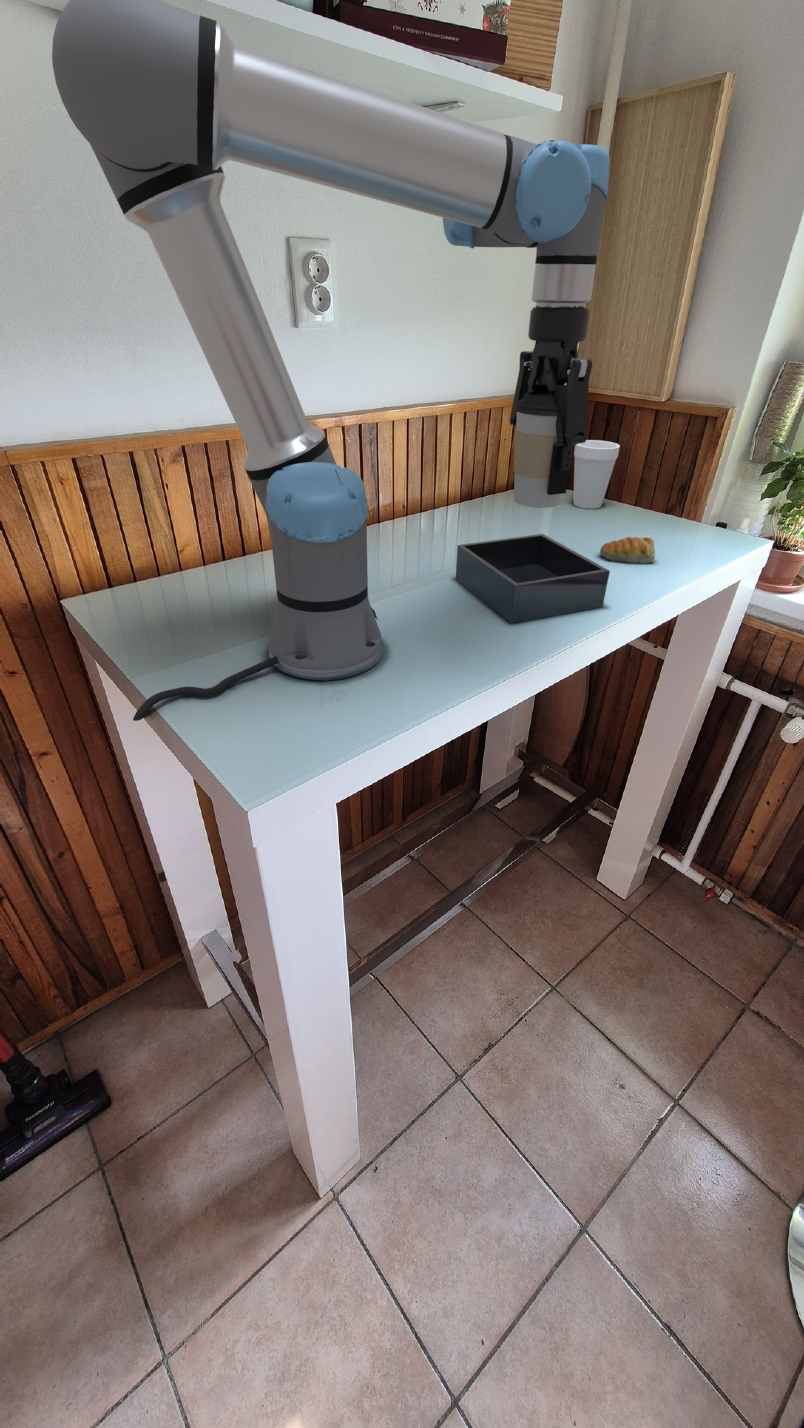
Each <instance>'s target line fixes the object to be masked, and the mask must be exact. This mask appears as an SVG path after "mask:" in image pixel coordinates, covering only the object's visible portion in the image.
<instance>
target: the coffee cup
mask: <svg viewBox="0 0 804 1428" xmlns="http://www.w3.org/2000/svg"><path fill="white" fill-rule="evenodd" d="M515 410H516V411H517V419H516V428H515V429H514V452H513V453H514V454H513V456H514V457H513V474H514V473H515V479H513V481H514V483H513V502H514V503H515V504H517V505H520V506H523V507H527V508H534V509H535V508H537V509H547V508H555V507H557V506H559V505H560V504H561V501H562V497H563V494H555V495H549V494H547V489H548V481H549V473H550V466H551V458H552V450H553V443H555V442H557V433H556V420H557V416H558V413H557V410H558V408H557V407H556V404H555V398H554V397H552V395H551V394H550V393H549V390H548V391H547V394H532V392H526V393H525V395H524V397H523V399H522V400H519V401H517V407H516V409H515ZM565 436H566V434H565Z"/></svg>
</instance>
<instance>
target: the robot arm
mask: <svg viewBox="0 0 804 1428" xmlns="http://www.w3.org/2000/svg"><path fill="white" fill-rule="evenodd" d="M51 62H52V70H53V75H54V80H55V84H56V88H57V91H58V94H59V96H60V99H61V102H62V104H63V106H64V108H65V110H66V112H67V114H68V116H69V118H70V119H71V122H72V124H73V125H74V127H75V128H76V129H77V130H78V131H79V133H80V134H81V135H82V136H83V138H84V139H85V140H86V142H88V144H89V145H90V147H91V148H92V151H93V153H94V155H95V158H96V159H97V162H98V164H99V166H100V168H101V170H102V173H103V174H104V177H105V178H106V180H107V183H108V184H109V187H110V189H111V192H112V193H113V195H114V197H115V199H116V201H117V203H118V205H119V208H120V210H121V212H122V215H123V216H124V218H125V220H126V221H128V222H130V223H131V224H133V225H135V226H137V227H138V228H141V229H142V230H144V232H146V233H147V234H148V236H149V239H150V241H151V244H152V245H153V247H154V249H155V252H156V254H157V255H158V258H159V260H160V263H161V265H162V266H163V269H164V271H165V273H166V275H167V277H168V279H169V281H170V283H171V286H172V288H173V290H174V292H175V295H176V297H177V300H179V303H180V306H181V308H182V310H183V312H184V315H185V317H186V319H187V320H188V323H189V325H190V327H191V329H192V331H193V333H194V336H195V337H196V341H197V342H198V345H199V346H200V348H201V351H202V353H203V355H204V357H205V360H206V362H207V364H208V366H209V368H210V370H211V372H212V375H213V377H214V379H215V381H216V383H217V385H218V387H219V390H220V392H221V394H222V396H223V398H224V401H225V402H226V405H227V407H228V409H229V411H230V414H231V416H232V417H233V421H234V422H235V425H236V426H237V429H238V430H239V433H240V435H241V437H242V439H243V441H244V444H245V445H246V449H247V450H246V454H245V458H244V461H243V463H242V465H243V468H244V471H245V473H246V475H247V477H248V479H249V482H250V483H251V486H252V488H253V490H254V492H255V495H256V496H257V498H258V501H259V503H260V505H261V507H262V509H263V511H264V513H265V516H266V520H267V526H268V531H269V535H270V542H271V551H272V561H273V569H274V580H275V589H276V598H277V599H276V600H277V604H276V607H275V612H274V616H273V621H272V624H271V629H270V633H269V637H268V647H267V649H268V655H269V656H268V657H269V658H268V659H265V660H263V661H261V662H259V663H257V664H255V665H254V664H253V665H252V666H250V667H247V668H245V669H242V670H241V671H238V672H236V673H234V674H231V675H230V676H227V677H226V678H224V679H222V680H221V681H219V682H218V683H217V684H216V685H214V686H211V687H206V688H203V687H197V686H181V687H177V688H171V689H167V690H163V691H160V692H157V693H155V694H153V695H151V696H150V697H149V698H147V699H146V700H145V701H144V702H143V703H142V704H141V706H140V707H139V708H138V709H137V710H136V712H135V714H134V716H133V718H132V720H133V722H137V721H141V720H143V719H144V718H145V716H146V715H147V713H148V712H149V711H150V710H151V709H152V708H153V707H154V706H155V705H156V704H158V703H159V702H162V701H164V700H167V699H171V698H175V697H180V696H184V695H190V696H191V695H192V696H197V697H198V696H199V697H210V696H215V695H218V694H220V693H221V692H223V691H224V690H225V689H226V688H228V687H229V686H231V685H233V684H235V683H237V682H239V681H242V680H244V679H247V678H249V677H251V676H253V675H255V674H257V673H259V672H262V671H264V670H266V669H268V668H271V667H273V666H274V667H275V668H276V669H277V670H278V671H280V672H282V673H283V674H286V675H289V676H291V677H295V678H298V679H304V680H311V681H331V680H339V679H346V678H349V677H353V676H356V675H359V674H362V673H364V672H366V671H367V670H369V669H372V668H373V667H375V666H376V665H377V664H378V662H379V661H380V659H381V658H382V655H383V639H382V638H383V637H382V633H381V630H380V628H379V624H378V622H377V621H378V617H377V614H376V611H375V609H373V608H372V606H371V603H370V600H369V589H368V585H369V581H368V578H369V577H368V575H369V574H368V527H367V526H368V523H367V517H368V512H369V511H368V510H369V504H368V498H367V494H366V487H365V484H364V481H363V479H362V478H361V476H360V475H359V474H357V473H356V472H355V471H353V470H351V469H350V468H348V467H341V466H340V465H339V464H337V462H336V459H335V457H334V454H333V452H332V449H331V447H330V444H329V441H328V438H327V437H326V434H325V431H323V429H320V428H318V427H316V426H314V425H312V424H310V423H309V422H308V419H307V417H306V414H305V412H304V409H303V407H302V405H301V401H300V398H299V396H298V394H297V392H296V389H295V387H294V384H293V381H292V379H291V377H290V374H289V371H288V369H287V367H286V363H285V361H284V359H283V356H282V354H281V352H280V349H279V347H278V344H277V341H276V339H275V336H274V334H273V331H272V329H271V327H270V324H269V322H268V319H267V315H266V314H265V310H264V309H263V306H262V303H261V300H260V298H259V297H258V293H257V291H256V288H255V286H254V284H253V281H252V279H251V278H252V277H251V276H250V274H249V273H250V272H249V270H248V268H247V265H246V264H245V261H244V258H243V256H242V253H241V250H240V248H239V246H238V243H237V241H236V237H235V235H234V233H233V231H232V228H231V225H230V223H229V220H228V218H227V215H226V213H225V211H224V208H223V205H222V202H221V197H222V194H223V193H222V192H223V188H224V184H225V180H226V175H225V173H224V169H223V167H222V166H223V165H224V164H225V163H226V162H228V161H232V162H235V163H240V164H243V165H247V166H251V167H253V168H258V169H262V170H265V171H269V172H273V173H277V174H280V175H284V176H288V177H291V178H296V179H298V180H302V181H306V182H310V183H314V184H318V185H321V186H324V187H328V188H332V189H336V190H340V191H343V192H347V193H351V194H354V195H358V196H361V197H365V198H369V199H372V200H376V201H380V202H383V203H387V204H391V205H394V206H398V207H402V208H406V209H410V210H414V211H417V212H420V213H424V214H428V215H431V216H435V217H439V218H442V226H443V233H444V235H445V239H446V240H447V242H448V243H449V244H450V245H452V246H454V247H467V248H470V249H475V248H527V249H534V248H536V253H535V262H534V264H535V265H534V272H533V273H534V274H533V281H532V282H533V283H532V292H531V301H532V302H533V303H535V306H534V307H532V309H531V310H530V315H529V323H528V333H527V334H528V335H527V336H528V338H529V340H531V341H535V342H534V347H533V350H527V351H526V350H525V351H524V350H523V351H521V352H520V353H519V370H518V374H517V381H516V385H515V390H514V394H513V400H512V406H511V412H510V416H509V424H510V425H511V426H514V427H515V428H516V419H517V411H516V410H515V409H516V407H517V401H519V400H522V399H523V397H524V395H525V393H526V392H532V394H547V391H548V390H549V393H550V394H551V395H552V397H554V398H555V404H556V407H557V408H558V410H557V413H558V416H557V420H556V433H557V442H555V443H553V450H552V458H551V466H550V473H549V481H548V489H547V494H549V495H555V494H562V495H564V494H566V493H567V489H568V482H569V474H570V471H571V468H572V462H573V457H574V451H575V445H576V444H580V443H585V442H586V440H587V439H588V436H587V435H588V413H589V385H590V382H589V381H590V376H591V372H592V368H593V361H592V359H590V358H588V359H582V358H580V357H579V350H578V349H579V348H578V347H579V346H578V345H579V343H580V342H584V340H586V337H587V334H588V326H589V320H590V319H589V318H590V312H591V311H590V310H589V308H588V307H586V304H587V303H590V302H591V300H592V296H593V288H594V281H595V272H596V265H597V260H598V255H599V247H600V241H601V234H602V227H603V220H604V214H605V208H606V202H607V201H608V196H609V195H608V191H609V179H610V165H611V164H610V163H611V160H610V159H611V156H610V153H609V152H608V150H607V149H606V147H603V146H600V145H595V144H587V143H583V144H573V143H571V142H569V141H566V140H553V139H551V140H546V141H545V140H544V141H543V142H541V143H535V142H532V141H528V140H526V139H523V138H519V137H517V136H513V135H508V134H505V133H502V132H501V131H497V130H494V129H491V128H488V127H485V126H482V125H479V124H476V123H473V122H470V121H467V120H465V119H462V118H459V117H455V116H452V115H449V114H446V113H443V112H440V111H437V110H434V109H431V108H428V107H425V106H422V105H419V104H417V103H412V102H410V101H406V100H404V99H401V98H398V97H394V96H391V95H389V94H386V93H382V92H380V91H376V90H373V89H370V88H368V87H365V86H362V85H358V84H355V83H353V82H350V81H347V80H343V79H340V78H337V77H334V76H332V75H328V74H325V73H322V72H320V71H316V70H313V69H309V68H307V67H303V66H301V65H298V64H295V63H292V62H289V61H286V60H282V59H280V58H277V57H274V56H270V55H268V54H265V53H262V52H259V51H255V50H252V49H250V48H246V47H243V46H240V45H237V44H235V42H234V41H232V40H231V38H230V36H229V35H228V33H227V31H226V29H225V28H224V26H223V25H222V23H221V22H220V21H218V20H216V19H212V18H210V17H206V16H203V15H199V14H197V13H194V12H191V11H190V10H189V11H188V10H186V9H183V8H181V7H179V6H177V5H173V4H170V3H168V2H165V1H163V0H69V1H68V2H67V3H66V5H65V6H64V7H63V10H61V12H60V14H59V16H58V19H57V20H56V24H55V28H54V31H53V36H52V49H51ZM565 434H566V436H565ZM513 480H515V473H514V472H513ZM156 875H157V879H158V882H159V883H165V882H166V881H167V877H166V872H165V871H162V872H158V873H157V874H156Z"/></svg>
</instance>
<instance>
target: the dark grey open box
mask: <svg viewBox="0 0 804 1428" xmlns="http://www.w3.org/2000/svg"><path fill="white" fill-rule="evenodd" d="M456 546H457V547H456V548H457V549H456V562H455V563H456V564H455V565H456V567H455V580H456V581H457V582H458V583H460V584H461V585H462V586H463V587H464V588H466V589H467V590H469V591H470V593H472V594H473V595H474V596H475V597H477V598H478V599H479V600H480V601H482V602H483V603H485V604H486V605H487V606H488V607H489V608H491V609H492V610H493V611H494V612H496V613H497V614H498V615H500V616H501V617H502V618H503V619H504V620H506V621H507V622H509V623H510V624H512V625H513V624H518V623H523V622H529V621H533V620H539V619H545V618H550V617H556V616H561V615H566V614H573V613H577V612H582V611H583V612H584V611H588V610H595V609H600V608H603V607H604V602H605V598H606V591H607V588H608V581H609V576H610V572H611V571H610V570H609V569H608V568H606V567H604V566H602V565H600V564H598V563H597V562H595V561H594V560H591V559H589V558H588V557H586V556H584V555H582V554H581V553H578V552H577V551H575V550H573V549H571V548H569V547H568V546H567V545H564V544H562V543H561V542H558V541H557V540H555V539H553V538H551V537H549V535H546V534H544V533H539V534H537V533H536V534H531V535H524V536H523V535H522V536H516V537H508V538H499V539H493V540H485V541H477V542H471V543H462V544H457V545H456Z"/></svg>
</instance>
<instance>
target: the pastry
mask: <svg viewBox="0 0 804 1428" xmlns="http://www.w3.org/2000/svg"><path fill="white" fill-rule="evenodd" d="M599 554H600V555H602V556H603V557H604V558H606V559H607V560H610V561H613V562H622V563H629V564H637V563H640V564H649V563H653V562H652V561H654V559H655V556H656V550H655V542H654V540H653V538H652V537H647V536H644V537H637V536H627V537H624V538H621V539H618V540H615V539H613V540H612V541H609V542H607V543H604V544H603V545H601V548H600V550H599Z"/></svg>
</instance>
